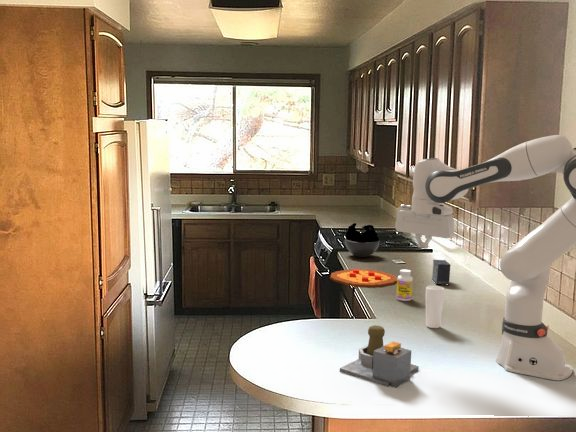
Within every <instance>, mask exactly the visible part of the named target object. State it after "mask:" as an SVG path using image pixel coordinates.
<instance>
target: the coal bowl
mask: <svg viewBox="0 0 576 432" xmlns="http://www.w3.org/2000/svg"><path fill="white" fill-rule="evenodd" d="M356 226H357V222H353V223H352V224H350V225H349V226H348V227H347V230H346V233H345V238H344V244H345V247H346V249H347V250H348V252H349V253H350V254H352V255H353V256H355V257H358V258H366V257H370V256H371V255H373V254H374V253H376V251H377V250H378V248H379V246H380V243H381V241H380V238H379V236H378V234H377V231H376V230H375V227H374V225H372V224H367V225H366V224H365V225H363V226H361V228H362V229H364V230H365V231H363V232H362V233H360V232H359V231H358V230H357V229H356Z"/></svg>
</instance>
